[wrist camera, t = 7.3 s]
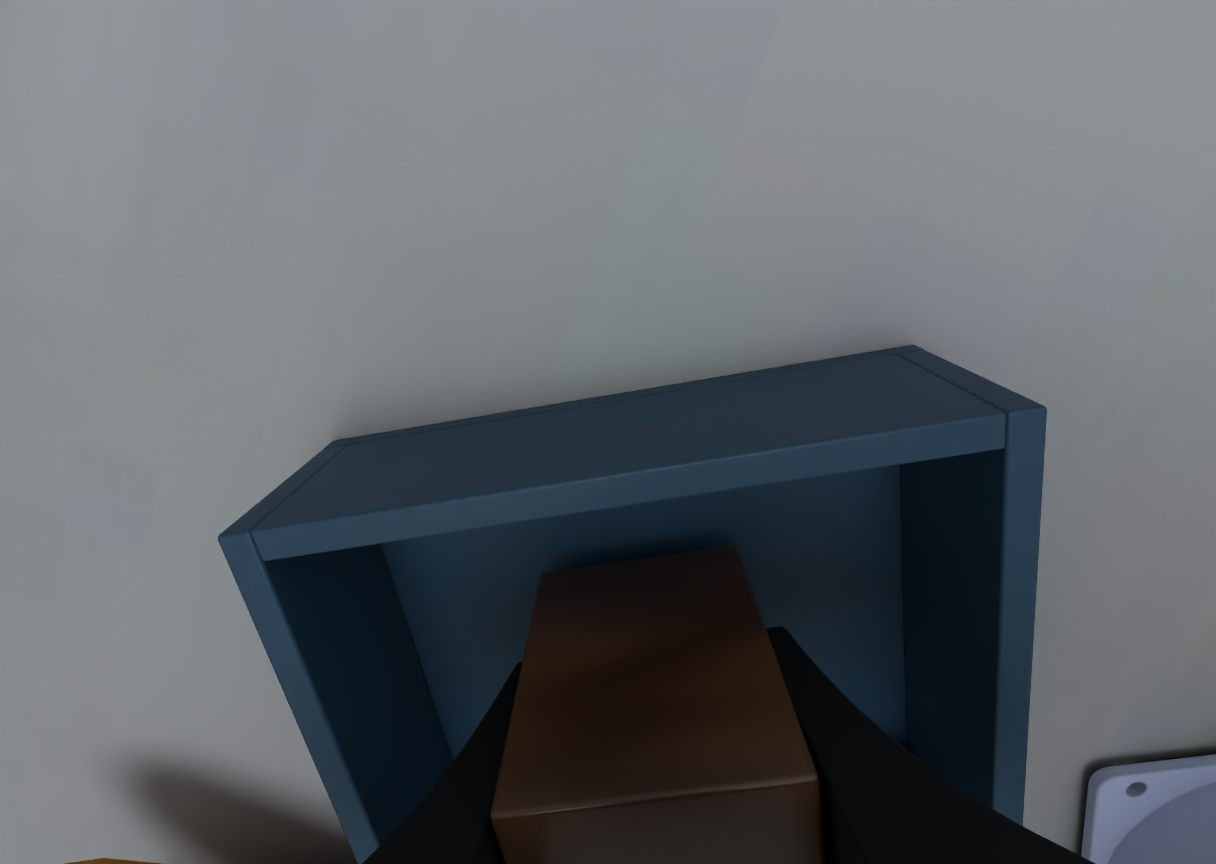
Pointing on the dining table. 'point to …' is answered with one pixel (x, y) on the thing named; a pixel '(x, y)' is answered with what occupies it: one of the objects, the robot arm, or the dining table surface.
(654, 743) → the block
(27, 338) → the dining table surface
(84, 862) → the corn
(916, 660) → the bin
